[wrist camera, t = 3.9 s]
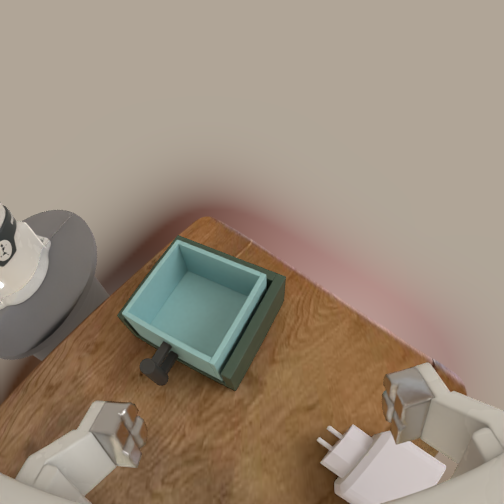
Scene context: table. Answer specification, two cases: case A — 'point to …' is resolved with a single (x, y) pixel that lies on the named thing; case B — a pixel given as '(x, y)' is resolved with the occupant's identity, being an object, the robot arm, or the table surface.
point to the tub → (194, 310)
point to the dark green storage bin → (253, 332)
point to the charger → (378, 467)
